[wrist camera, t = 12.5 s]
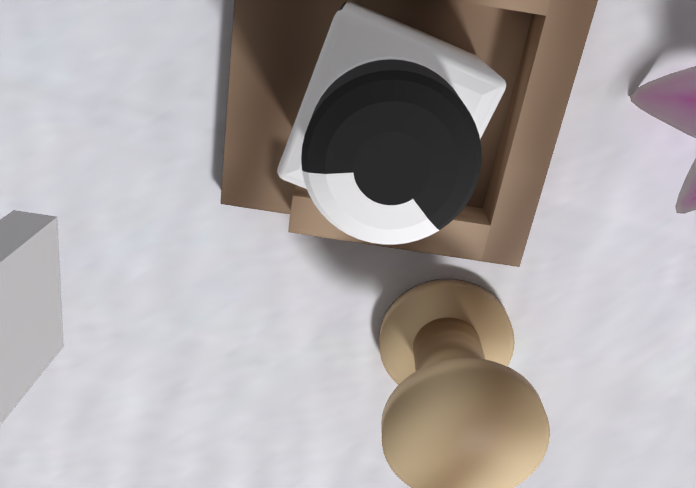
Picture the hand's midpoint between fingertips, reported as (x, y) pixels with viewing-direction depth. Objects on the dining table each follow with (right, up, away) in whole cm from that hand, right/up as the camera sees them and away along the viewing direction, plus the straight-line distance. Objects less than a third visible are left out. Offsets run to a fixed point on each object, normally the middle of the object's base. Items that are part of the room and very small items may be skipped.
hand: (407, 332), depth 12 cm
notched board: (+1, +9, +21) cm, 23 cm away
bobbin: (+5, -4, +26) cm, 27 cm away
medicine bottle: (+1, +9, +20) cm, 22 cm away
